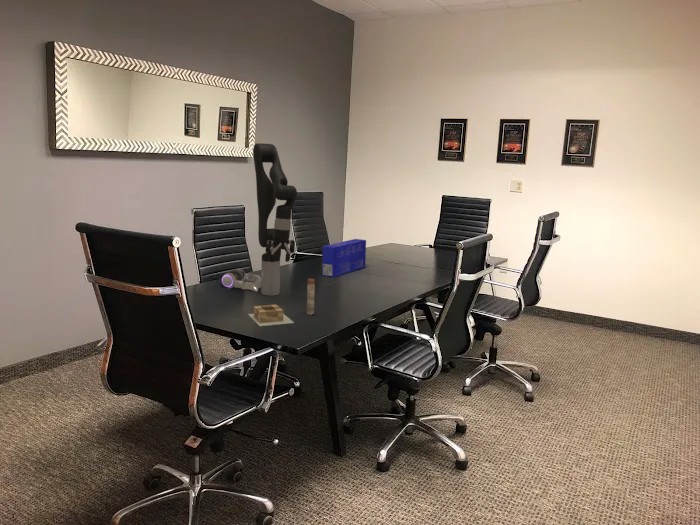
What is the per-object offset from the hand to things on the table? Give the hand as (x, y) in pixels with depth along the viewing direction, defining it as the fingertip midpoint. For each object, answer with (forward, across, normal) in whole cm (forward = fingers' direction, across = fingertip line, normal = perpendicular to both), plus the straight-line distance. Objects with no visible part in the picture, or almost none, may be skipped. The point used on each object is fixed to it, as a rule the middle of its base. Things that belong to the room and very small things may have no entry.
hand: (279, 261), depth 258 cm
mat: (+20, +16, +24) cm, 34 cm away
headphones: (+22, -2, -36) cm, 42 cm away
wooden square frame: (+19, +16, +23) cm, 35 cm away
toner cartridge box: (+18, -72, -42) cm, 86 cm away
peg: (+18, -4, +25) cm, 32 cm away
